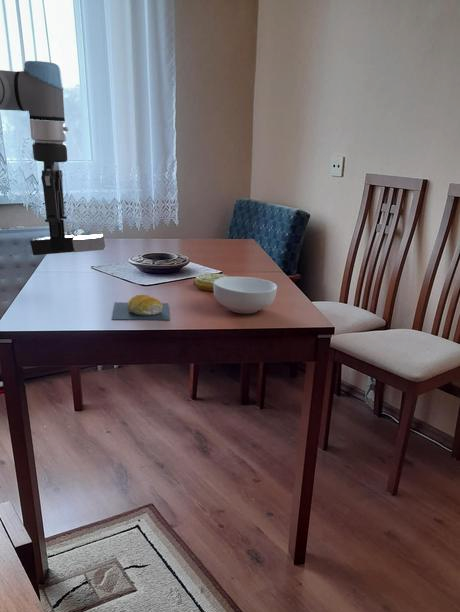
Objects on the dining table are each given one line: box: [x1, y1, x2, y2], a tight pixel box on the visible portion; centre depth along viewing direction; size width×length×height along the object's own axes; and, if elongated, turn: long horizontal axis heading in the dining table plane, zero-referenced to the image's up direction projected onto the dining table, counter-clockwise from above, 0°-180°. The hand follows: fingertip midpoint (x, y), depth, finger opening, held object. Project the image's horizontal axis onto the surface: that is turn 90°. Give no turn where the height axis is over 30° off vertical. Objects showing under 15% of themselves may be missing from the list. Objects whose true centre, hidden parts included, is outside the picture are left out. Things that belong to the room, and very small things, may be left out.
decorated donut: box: [194, 272, 229, 292], centre depth 165 cm, size 10×11×4 cm
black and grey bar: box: [29, 233, 106, 256], centre depth 135 cm, size 17×4×4 cm, turn 96°
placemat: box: [111, 301, 171, 321], centre depth 141 cm, size 14×14×1 cm
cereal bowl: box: [213, 276, 278, 315], centre depth 146 cm, size 17×17×7 cm
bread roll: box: [127, 294, 163, 316], centre depth 140 cm, size 8×9×4 cm
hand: (58, 248), depth 135 cm, fingers closed on black and grey bar, 3 cm apart
